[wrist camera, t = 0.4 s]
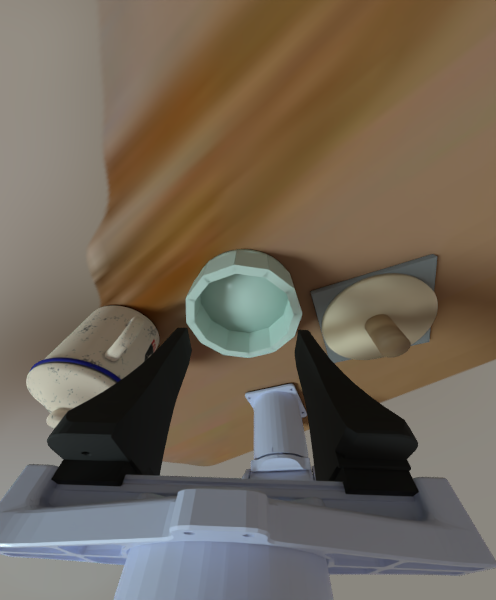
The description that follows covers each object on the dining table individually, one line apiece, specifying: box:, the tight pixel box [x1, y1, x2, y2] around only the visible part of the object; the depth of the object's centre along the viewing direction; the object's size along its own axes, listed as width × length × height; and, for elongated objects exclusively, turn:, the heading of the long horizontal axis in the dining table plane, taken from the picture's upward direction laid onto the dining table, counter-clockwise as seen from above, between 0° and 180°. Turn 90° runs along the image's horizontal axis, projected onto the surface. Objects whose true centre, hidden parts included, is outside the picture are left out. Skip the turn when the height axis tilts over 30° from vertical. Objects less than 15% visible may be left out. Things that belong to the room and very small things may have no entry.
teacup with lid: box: [26, 305, 159, 428], centre depth 22 cm, size 12×9×12 cm
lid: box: [321, 273, 438, 360], centre depth 23 cm, size 12×12×4 cm
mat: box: [310, 254, 437, 363], centre depth 25 cm, size 12×12×1 cm
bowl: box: [186, 249, 302, 358], centre depth 22 cm, size 11×11×4 cm
